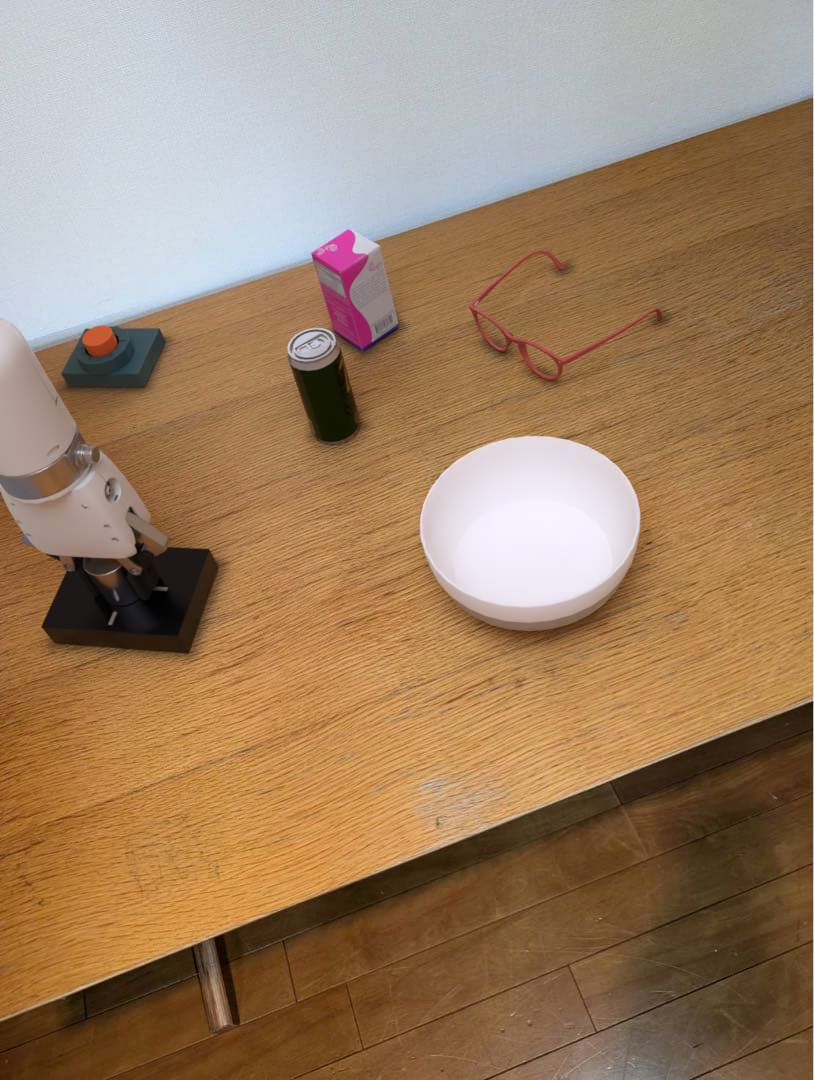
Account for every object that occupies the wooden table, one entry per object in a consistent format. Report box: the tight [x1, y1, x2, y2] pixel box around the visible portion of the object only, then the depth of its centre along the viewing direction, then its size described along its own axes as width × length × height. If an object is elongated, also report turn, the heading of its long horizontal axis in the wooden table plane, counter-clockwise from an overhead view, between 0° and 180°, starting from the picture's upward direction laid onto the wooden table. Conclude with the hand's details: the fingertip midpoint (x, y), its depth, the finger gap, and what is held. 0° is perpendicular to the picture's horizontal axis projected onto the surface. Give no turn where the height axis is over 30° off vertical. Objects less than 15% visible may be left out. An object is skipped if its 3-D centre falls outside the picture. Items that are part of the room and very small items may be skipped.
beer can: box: [286, 327, 361, 446], centre depth 103 cm, size 5×5×12 cm
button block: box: [60, 325, 167, 388], centre depth 118 cm, size 10×8×4 cm
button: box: [82, 324, 118, 357], centre depth 116 cm, size 4×4×2 cm
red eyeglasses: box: [468, 249, 663, 381], centre depth 109 cm, size 17×16×5 cm
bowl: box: [419, 435, 642, 632], centre depth 88 cm, size 19×19×9 cm
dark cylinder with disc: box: [83, 557, 140, 606], centre depth 92 cm, size 4×4×5 cm
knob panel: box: [40, 546, 219, 654], centre depth 95 cm, size 14×10×3 cm
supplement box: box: [310, 227, 400, 353], centre depth 112 cm, size 6×6×12 cm
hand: (124, 585), depth 94 cm, fingers closed on dark cylinder with disc, 4 cm apart
